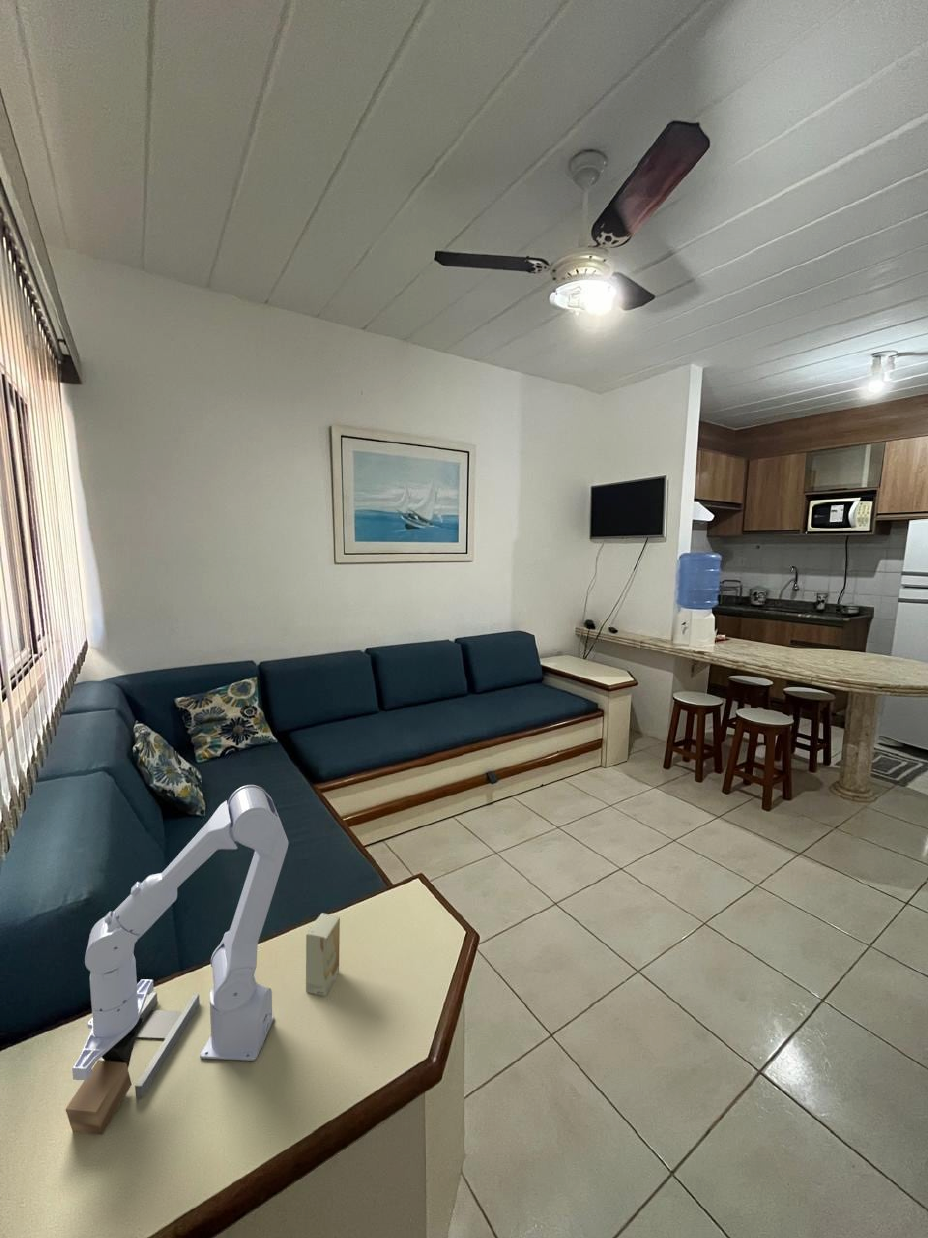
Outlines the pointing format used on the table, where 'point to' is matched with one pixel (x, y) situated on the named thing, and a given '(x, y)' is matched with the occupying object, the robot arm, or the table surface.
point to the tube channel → (161, 1034)
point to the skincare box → (322, 954)
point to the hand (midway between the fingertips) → (119, 1071)
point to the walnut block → (99, 1097)
